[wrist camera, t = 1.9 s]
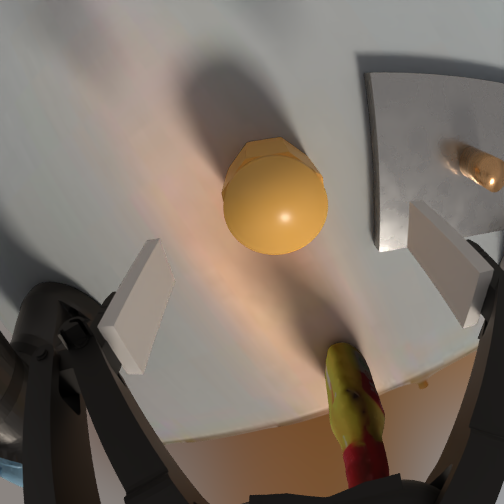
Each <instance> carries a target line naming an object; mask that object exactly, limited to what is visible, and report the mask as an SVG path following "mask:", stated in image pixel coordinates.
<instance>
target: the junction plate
mask: <svg viewBox="0 0 504 504" xmlns="http://www.w3.org/2000/svg"><path fill="white" fill-rule="evenodd" d="M364 78H365V85H366V92H367V101H368V110H369V119H370V130H371V143H372V157H373V177H374V245H375V246H376V248H377V249H378V251H379V252H383V251H389V250H395V249H401V248H406V247H407V240H408V225H409V203H410V201H416V200H423V201H424V202H425V203H426V204H427V205H428V206H430V207H431V208H432V209H433V210H434V211H435V212H436V213H437V214H439V215H440V216H441V217H442V218H443V219H444V220H445V221H446V222H447V223H448V224H450V225H451V226H452V227H453V228H454V229H455V230H456V231H457V232H458V233H459V234H460V235H461V236H462V237H468V236H473V235H478V234H484V233H489V232H494V231H499V230H504V83H499V82H493V81H487V80H480V79H473V78H466V77H457V76H447V75H436V74H421V73H390V72H374V73H364Z"/></svg>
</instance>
